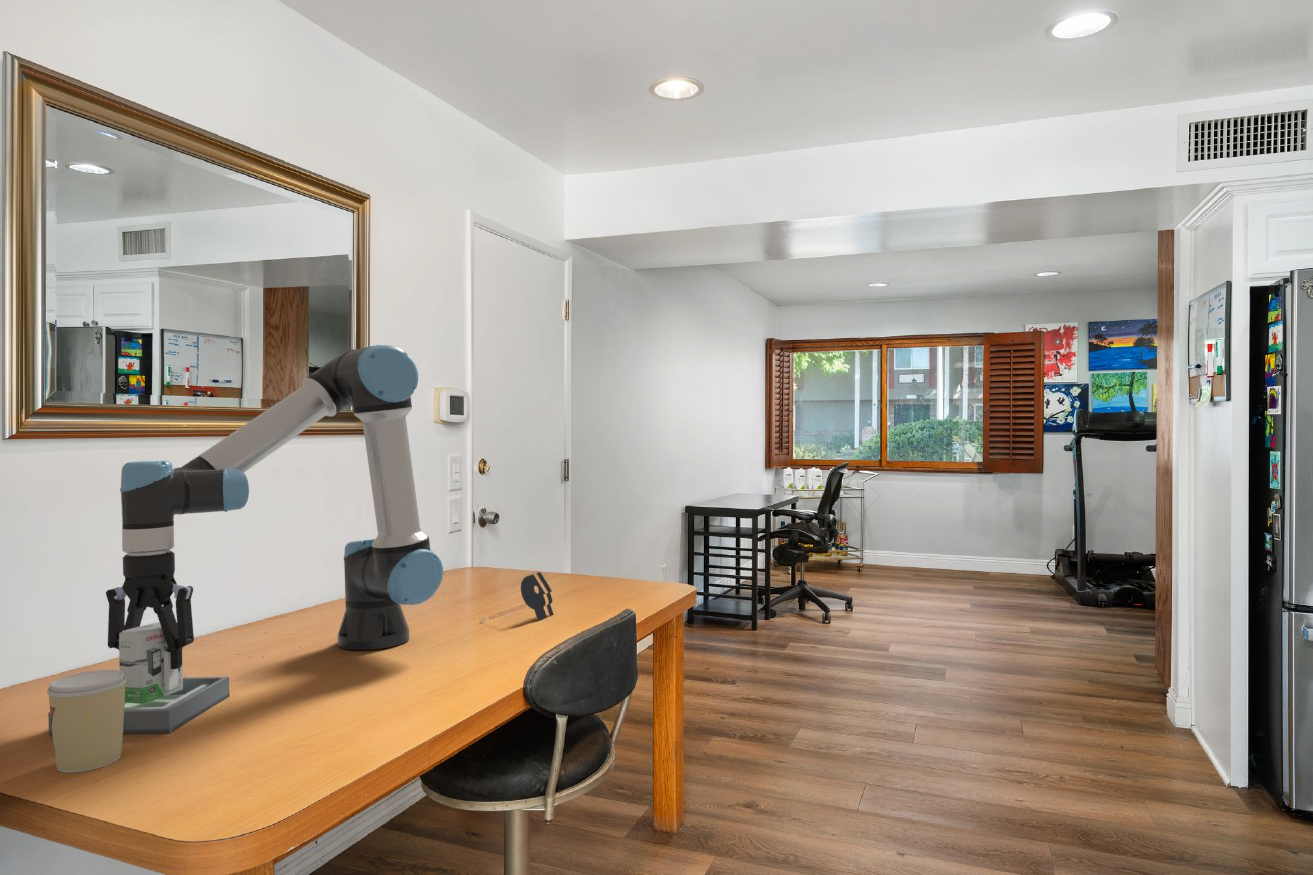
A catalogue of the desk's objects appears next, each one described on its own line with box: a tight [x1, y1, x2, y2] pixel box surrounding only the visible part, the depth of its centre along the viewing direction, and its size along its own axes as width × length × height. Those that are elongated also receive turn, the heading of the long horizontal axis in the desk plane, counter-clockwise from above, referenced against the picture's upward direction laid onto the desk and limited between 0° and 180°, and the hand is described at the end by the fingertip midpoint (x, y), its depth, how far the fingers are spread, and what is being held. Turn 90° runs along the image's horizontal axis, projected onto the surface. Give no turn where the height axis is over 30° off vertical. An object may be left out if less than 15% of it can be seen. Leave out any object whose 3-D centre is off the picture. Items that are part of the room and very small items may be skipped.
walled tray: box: [48, 676, 230, 736], centre depth 139 cm, size 19×18×4 cm
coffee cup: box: [46, 669, 127, 774], centre depth 119 cm, size 9×9×12 cm
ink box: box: [118, 621, 184, 704], centre depth 141 cm, size 9×5×12 cm, turn 165°
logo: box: [479, 571, 554, 623], centre depth 205 cm, size 17×18×11 cm
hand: (152, 687), depth 141 cm, fingers closed on ink box, 6 cm apart
